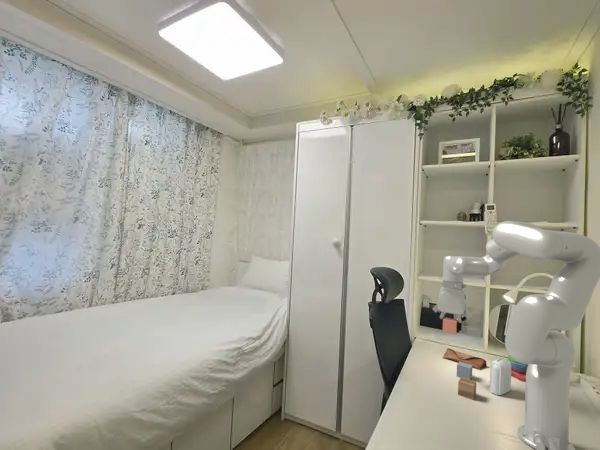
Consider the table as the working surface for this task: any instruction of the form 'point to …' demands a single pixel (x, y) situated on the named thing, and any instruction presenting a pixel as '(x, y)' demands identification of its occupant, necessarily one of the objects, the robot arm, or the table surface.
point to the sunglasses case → (465, 359)
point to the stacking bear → (518, 369)
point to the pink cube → (450, 325)
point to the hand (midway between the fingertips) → (450, 329)
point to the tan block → (467, 388)
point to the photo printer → (500, 376)
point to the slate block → (464, 370)
